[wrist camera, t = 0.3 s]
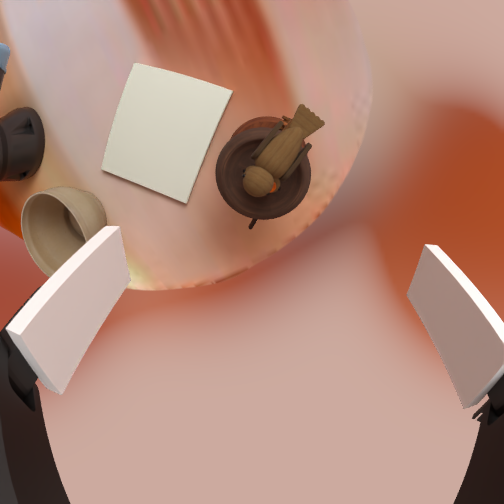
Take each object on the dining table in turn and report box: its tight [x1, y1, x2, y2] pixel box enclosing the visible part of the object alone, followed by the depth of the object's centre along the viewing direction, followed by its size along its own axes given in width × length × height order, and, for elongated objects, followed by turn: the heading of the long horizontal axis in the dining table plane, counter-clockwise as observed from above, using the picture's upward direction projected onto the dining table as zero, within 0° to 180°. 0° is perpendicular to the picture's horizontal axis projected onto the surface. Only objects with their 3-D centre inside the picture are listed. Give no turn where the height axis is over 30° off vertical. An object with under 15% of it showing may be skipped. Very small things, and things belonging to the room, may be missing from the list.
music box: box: [216, 104, 325, 229], centre depth 28 cm, size 15×11×20 cm
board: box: [101, 63, 233, 203], centre depth 35 cm, size 16×18×1 cm
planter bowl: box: [21, 187, 106, 277], centre depth 38 cm, size 16×16×11 cm
